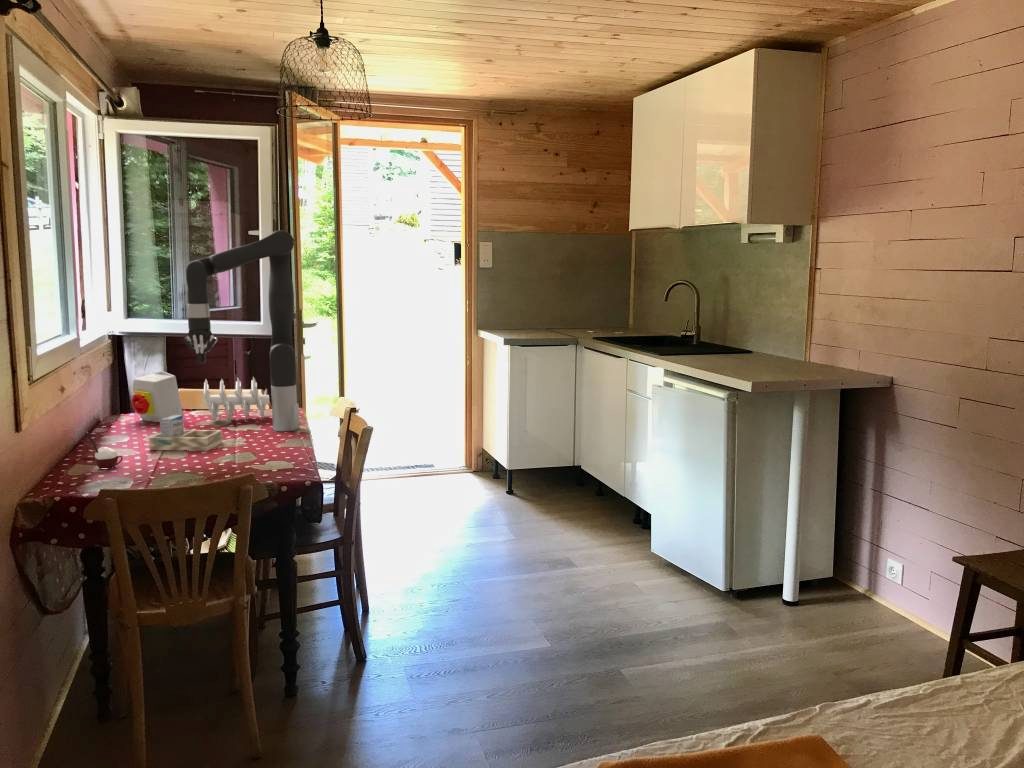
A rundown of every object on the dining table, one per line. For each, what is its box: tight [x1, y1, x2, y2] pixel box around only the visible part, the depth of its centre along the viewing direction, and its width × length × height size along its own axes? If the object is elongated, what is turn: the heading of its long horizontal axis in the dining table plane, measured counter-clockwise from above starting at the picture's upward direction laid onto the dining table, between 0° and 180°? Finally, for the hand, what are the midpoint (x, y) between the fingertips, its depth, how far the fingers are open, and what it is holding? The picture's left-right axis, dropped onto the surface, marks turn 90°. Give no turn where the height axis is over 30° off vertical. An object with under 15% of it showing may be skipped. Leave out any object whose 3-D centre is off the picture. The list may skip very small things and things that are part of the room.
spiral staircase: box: [203, 376, 270, 424], centre depth 324 cm, size 18×18×25 cm
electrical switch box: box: [131, 371, 184, 423], centre depth 323 cm, size 15×15×20 cm
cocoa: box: [85, 431, 124, 469], centre depth 250 cm, size 10×6×12 cm, turn 104°
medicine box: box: [159, 415, 185, 437], centre depth 280 cm, size 8×4×9 cm, turn 173°
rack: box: [148, 429, 223, 452], centre depth 280 cm, size 20×13×4 cm, turn 87°
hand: (201, 363), depth 294 cm, fingers closed
